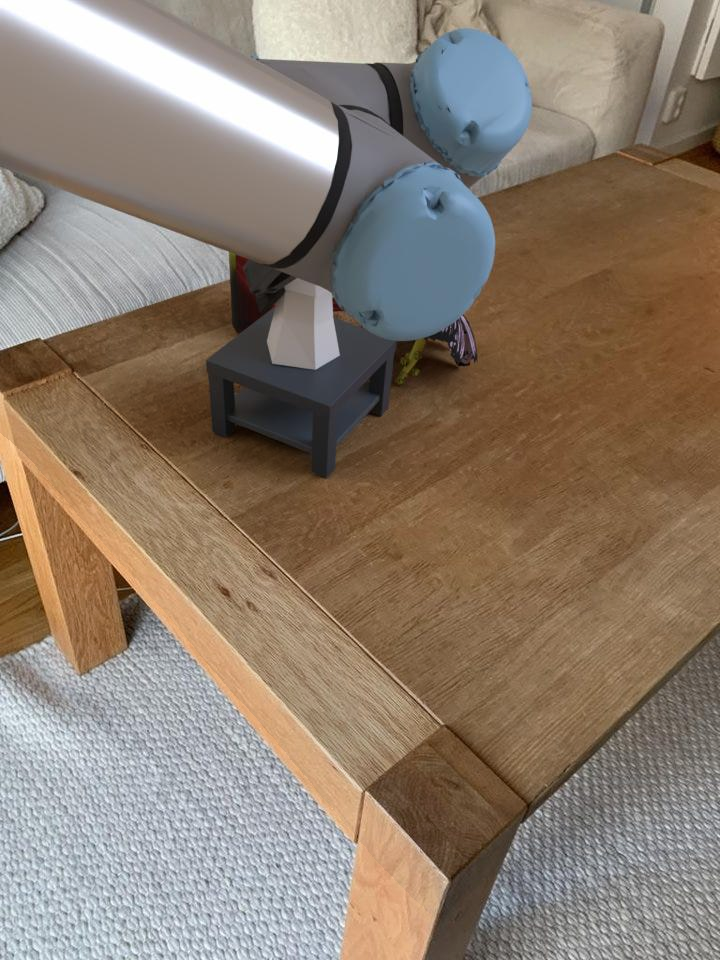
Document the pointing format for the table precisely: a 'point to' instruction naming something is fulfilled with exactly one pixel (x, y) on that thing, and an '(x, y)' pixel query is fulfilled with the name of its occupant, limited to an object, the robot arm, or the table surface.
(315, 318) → the figurine
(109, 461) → the table surface
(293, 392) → the stand
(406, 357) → the decorative flower
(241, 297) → the mug
